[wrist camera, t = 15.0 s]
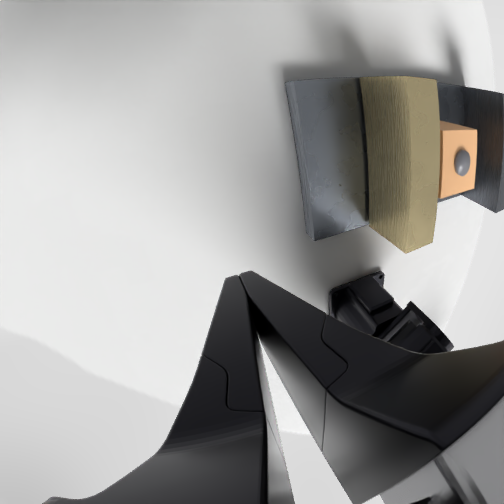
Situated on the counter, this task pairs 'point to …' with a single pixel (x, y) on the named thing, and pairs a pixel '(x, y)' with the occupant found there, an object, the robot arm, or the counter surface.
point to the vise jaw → (402, 157)
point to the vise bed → (355, 148)
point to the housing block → (456, 159)
